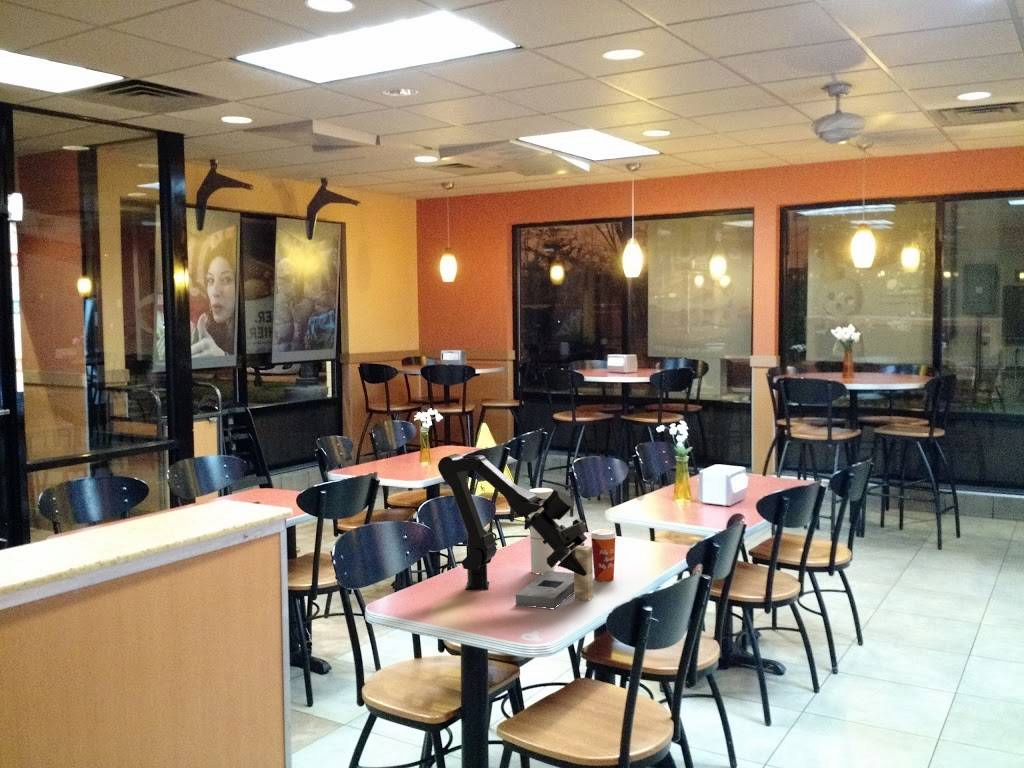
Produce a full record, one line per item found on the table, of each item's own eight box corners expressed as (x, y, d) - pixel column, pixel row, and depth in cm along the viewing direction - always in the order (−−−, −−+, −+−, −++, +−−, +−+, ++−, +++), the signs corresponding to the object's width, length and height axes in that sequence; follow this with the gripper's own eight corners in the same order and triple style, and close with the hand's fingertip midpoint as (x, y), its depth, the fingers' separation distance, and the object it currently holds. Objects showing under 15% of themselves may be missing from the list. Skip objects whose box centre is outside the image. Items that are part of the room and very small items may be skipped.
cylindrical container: (558, 572, 277) (556, 491, 275) (536, 575, 275) (534, 493, 273) (548, 566, 284) (546, 487, 282) (527, 569, 281) (525, 489, 279)
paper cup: (604, 584, 264) (603, 536, 263) (585, 578, 270) (584, 531, 269) (623, 578, 269) (622, 531, 268) (604, 573, 275) (603, 527, 274)
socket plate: (515, 605, 247) (515, 594, 247) (547, 580, 269) (547, 570, 269) (554, 609, 243) (553, 598, 242) (583, 584, 265) (583, 574, 264)
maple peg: (574, 599, 251) (573, 549, 250) (579, 595, 255) (578, 545, 254) (588, 600, 249) (587, 550, 248) (593, 596, 253) (592, 546, 252)
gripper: (556, 518, 243) (597, 563, 240) (579, 504, 260) (617, 545, 257) (529, 545, 247) (569, 589, 243) (554, 530, 264) (591, 571, 260)
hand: (588, 572), depth 251 cm, fingers closed on maple peg, 4 cm apart
